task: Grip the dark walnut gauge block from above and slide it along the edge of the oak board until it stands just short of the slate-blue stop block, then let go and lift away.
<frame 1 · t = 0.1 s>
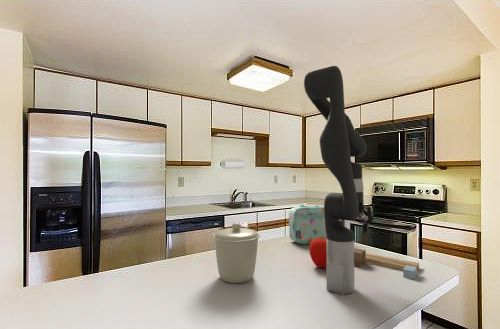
hand: (353, 231, 106), 17 cm above the counter, tool pointing down, fingers open, 8 cm apart
slate stop block: (410, 275, 106), on the counter
candy bar box: (243, 260, 126), on the counter
lunch box: (311, 242, 156), on the counter
oak board: (383, 263, 120), on the counter
tomato: (322, 267, 116), on the counter
walnut gauge block: (358, 264, 119), on the counter
canister: (236, 278, 105), on the counter
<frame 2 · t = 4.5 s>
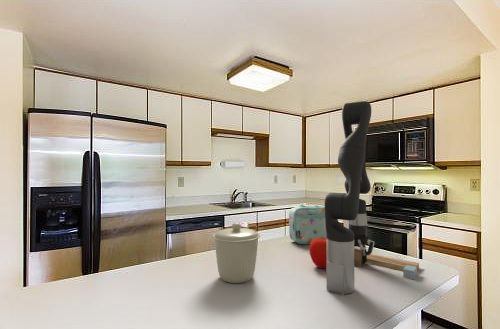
hand: (358, 262, 120), 1 cm above the counter, tool pointing down, fingers closed on walnut gauge block, 4 cm apart
walnut gauge block: (358, 264, 120), on the counter, touching gripper
everything else where it was.
when the fingers open (1 cm above the counter, at t = 9.1 s): walnut gauge block stays where it is, on the counter.
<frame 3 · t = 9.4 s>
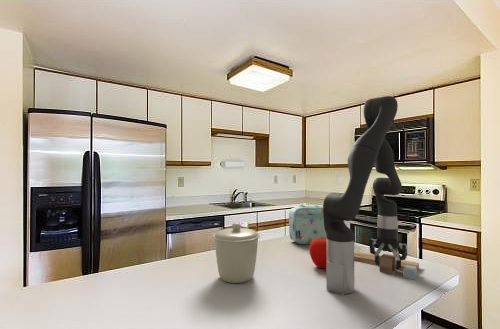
hand: (387, 266, 112), 2 cm above the counter, tool pointing down, fingers open, 7 cm apart
walnut gauge block: (387, 271, 112), on the counter
everything else where it was.
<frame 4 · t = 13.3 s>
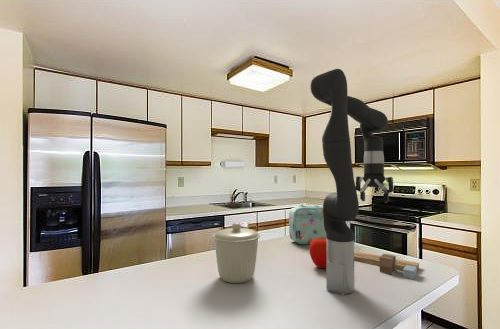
hand: (374, 202, 112), 28 cm above the counter, tool pointing down, fingers open, 8 cm apart
nothing on the counter moved.
at the end: walnut gauge block 0.0 cm from the target spot, on the counter; walnut gauge block tilted 0°; the gripper is holding nothing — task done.
